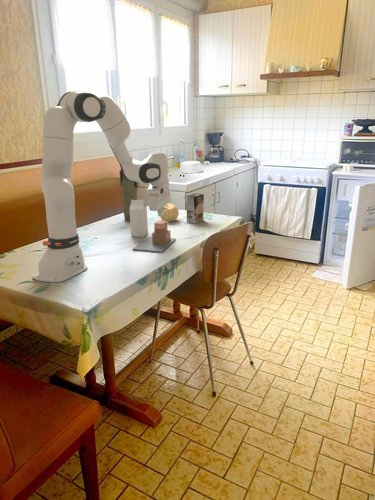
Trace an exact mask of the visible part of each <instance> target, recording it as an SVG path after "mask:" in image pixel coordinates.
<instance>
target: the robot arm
mask: <svg viewBox="0 0 375 500" xmlns="http://www.w3.org/2000/svg"><path fill="white" fill-rule="evenodd" d="M44 114H45V115H44V118H43V126H42V127H43V128H42V160H41V161H42V162H41V173H40V174H41V176H40V177H41V179H40V188H41V191H42V193H43V197H44V205H45V215H46V216H45V218H46V225H47V231H48V237H47V240H43V241H42V246H44V247H45V246H46V247H47V248H46V249H45V251H44V253H43V255H42V256H41V258H40V259H39V261H38V265H37V269H38V270H37V272H35V273H34V274H33V275H32V278H33V279H34V280H35V281H39V282H45V283H46V282H47V283H60V282H64V281H66V280H68V279H70V278H73V277H74V276H76V275H78V274H80V273H82V272H84V271H86V270H88V266H87V265H86V263H85V258H84V254H83V250H82V248H81V246H80V244H79V243H80V236H79V233H78V229H77V221H76V200H75V199H76V198H75V197H76V196H75V188H74V185H73V183H72V181H71V172H72V167H73V166H72V165H73V160H74V130H75V126H76V124H77V123H78V122H79V123H92V122H96V123H97V124H98V126H99V128H100V129H101V131H102V132H103V134H104V135H105V137H106V139H107V143H108V145H109V147H110V149H111V151H112V153H113V155H114V156H115V158H116V160H117V162H118V164H119V166H120V170H121V171H122V175H123V177H124V178H125V179H126V180H127V181H131V182H138V184H149V186H148V188H147V189H146V194H147V195H148V196H147V202H148V203H147V206H148V210H149V211H150V212H157V216H158V217H160V216H162V215H164V206H165V205H167V204H168V203H169V204H171V199H172V198H171V190H170V180H169V177H168V176H169V175H168V174H169V163H168V162H169V161H168V157H167V155H166V154H164V153H161V152H151V153H149V156H147V158H145V159H143V160H136V159H135V158H133V157H132V156H131V154H130V152H129V149H128V148H127V146H126V144H125V141H126V140H127V139H128V138H129V137H130V135H131V125H130V123H129V121H128V119H127V117H126V115H125V114H124V112H123V111H122V109H121V107H120V106H119V105H118V104H117V102H116V101H115V100H114V98H112V97H111V96H110V95H107V94H103V95H99V96H98V95H97V94H95V93H93V92H91V91H82V90H73V91H67V92H65V93H64V94H62V95H61V97H60V99H59V101H58V103H57V104H56V106H55V105H54V106H52V107H49V108H48V109H46V111H45V113H44Z"/></svg>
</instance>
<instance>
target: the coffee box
mask: <svg viewBox="0 0 375 500" xmlns="http://www.w3.org/2000/svg"><path fill="white" fill-rule="evenodd" d="M204 196H205V195H204V193H203V194H202V193H192V194H189V195H186V223H189V224H190V223H191V224H194V225H196V224H198V223H201V222H203V221H204V214H205V212H204V211H205V209H204V208H205V207H204V206H205V205H204V200H205V199H204V198H205V197H204Z"/></svg>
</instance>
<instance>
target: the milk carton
mask: <svg viewBox="0 0 375 500" xmlns="http://www.w3.org/2000/svg"><path fill="white" fill-rule="evenodd" d="M146 204H147V203H146V202H145V199H137V200H131V205H130V221H129V223H130V234H131V236H130V237H132V238H133V237H135V238H136V237H137V238H144V237H146V236H147V235H148V234H149V228H148V227H149V226H148V225H149V224H148V207H147V206H148V205H146Z"/></svg>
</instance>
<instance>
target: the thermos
mask: <svg viewBox="0 0 375 500" xmlns="http://www.w3.org/2000/svg"><path fill="white" fill-rule="evenodd" d="M119 178H120V179H119V180H120V187H121V190H122V193H123V206H124V208H123V217H124V221H125V222H130V205H131V200H138V195H137V193H138V188H139V182H131V181H127V180H126V179H125V178H124V177H123V175H122V171H121V169H120V170H119Z"/></svg>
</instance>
